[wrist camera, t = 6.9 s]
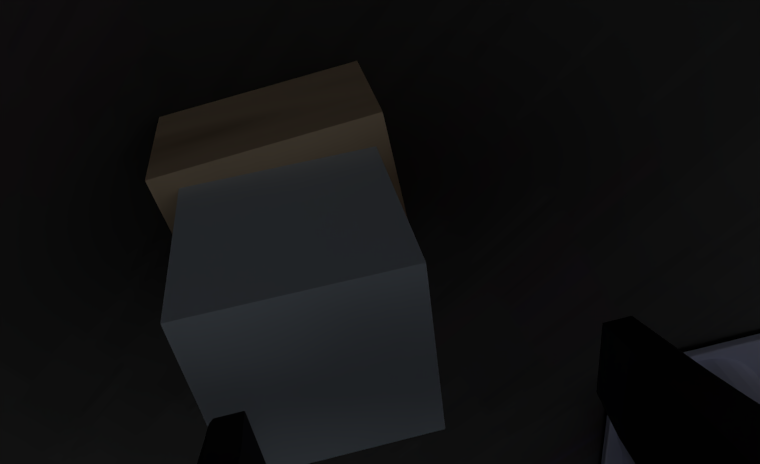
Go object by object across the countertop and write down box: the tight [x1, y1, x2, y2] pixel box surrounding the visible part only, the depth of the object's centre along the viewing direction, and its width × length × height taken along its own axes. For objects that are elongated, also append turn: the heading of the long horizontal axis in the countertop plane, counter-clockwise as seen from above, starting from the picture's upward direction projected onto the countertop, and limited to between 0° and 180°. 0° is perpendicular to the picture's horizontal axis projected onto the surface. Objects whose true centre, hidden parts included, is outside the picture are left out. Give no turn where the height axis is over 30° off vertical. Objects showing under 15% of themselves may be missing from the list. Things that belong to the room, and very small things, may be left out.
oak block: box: [145, 61, 407, 234], centre depth 19 cm, size 6×6×4 cm
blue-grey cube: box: [160, 146, 445, 464], centre depth 15 cm, size 5×5×5 cm
